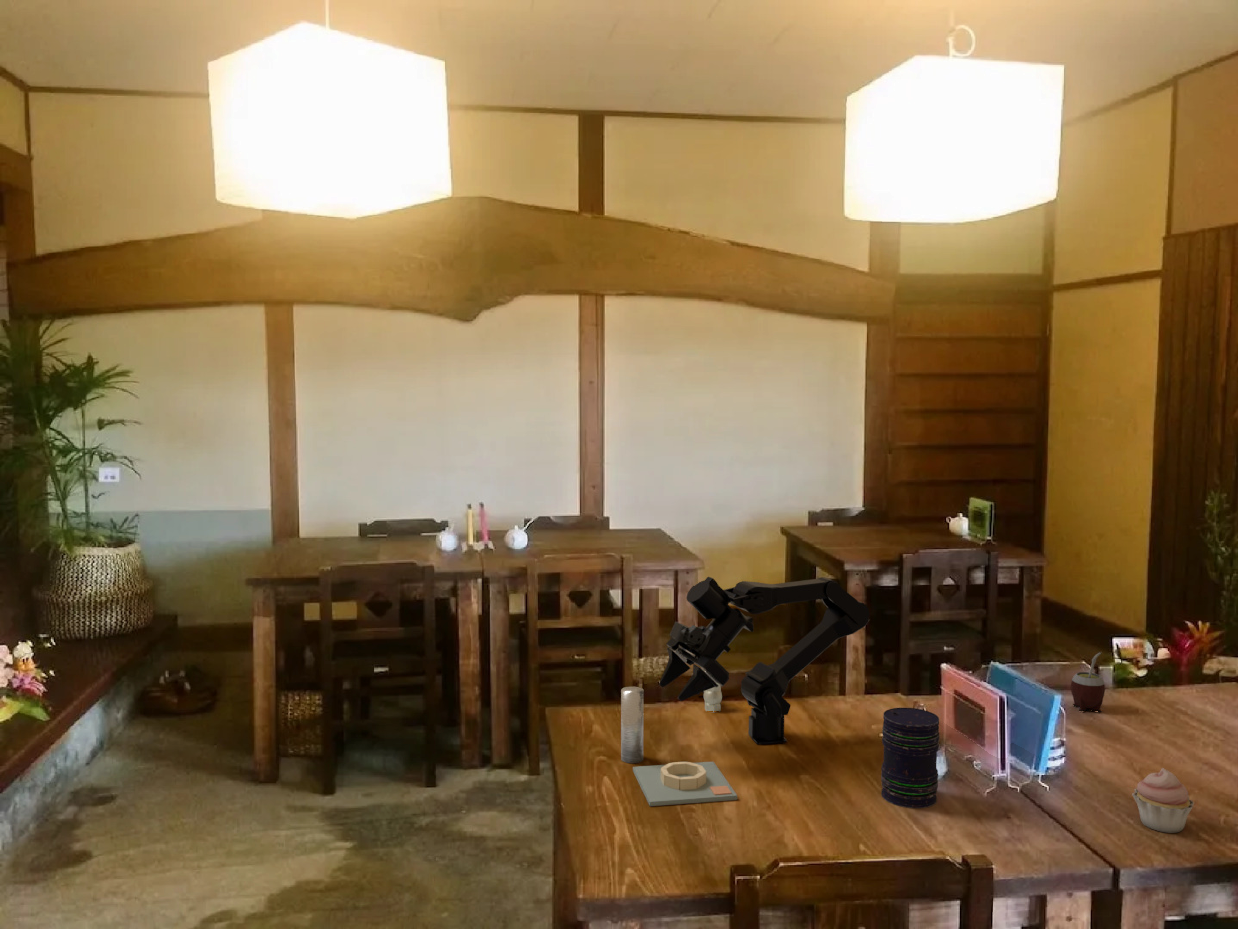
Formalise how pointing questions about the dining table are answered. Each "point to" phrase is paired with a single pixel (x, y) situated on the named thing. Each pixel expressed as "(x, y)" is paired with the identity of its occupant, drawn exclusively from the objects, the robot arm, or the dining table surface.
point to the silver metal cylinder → (632, 724)
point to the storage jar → (910, 757)
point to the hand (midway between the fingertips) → (669, 692)
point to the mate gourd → (1088, 689)
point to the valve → (713, 698)
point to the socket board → (683, 783)
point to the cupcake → (1163, 802)
